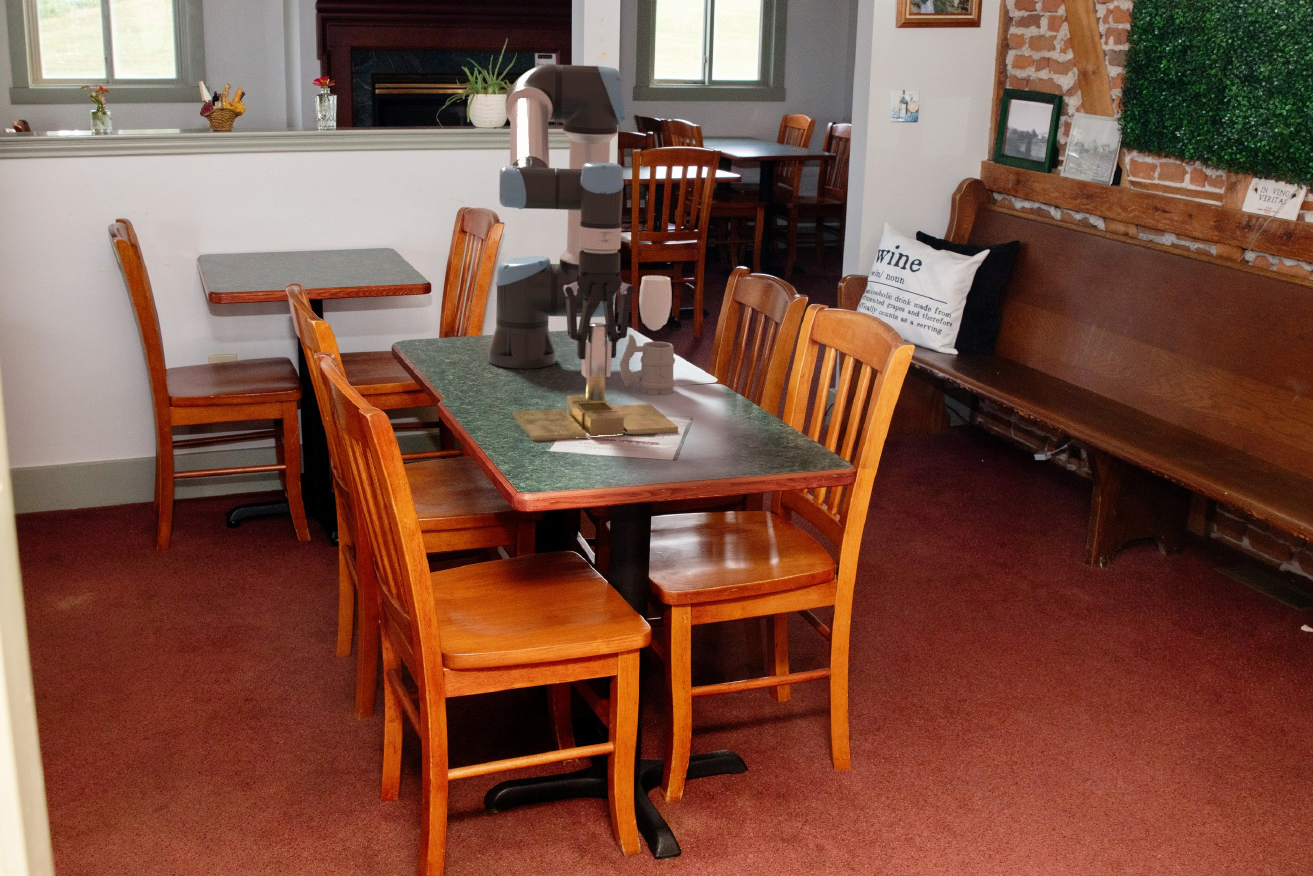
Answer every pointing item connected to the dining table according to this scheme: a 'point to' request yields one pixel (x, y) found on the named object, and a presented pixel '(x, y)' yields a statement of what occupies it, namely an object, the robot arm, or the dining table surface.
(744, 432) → the dining table surface
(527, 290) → the robot arm
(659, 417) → the hinge flap with knuckles
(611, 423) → the fixed leaf
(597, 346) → the pin
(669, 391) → the mug
